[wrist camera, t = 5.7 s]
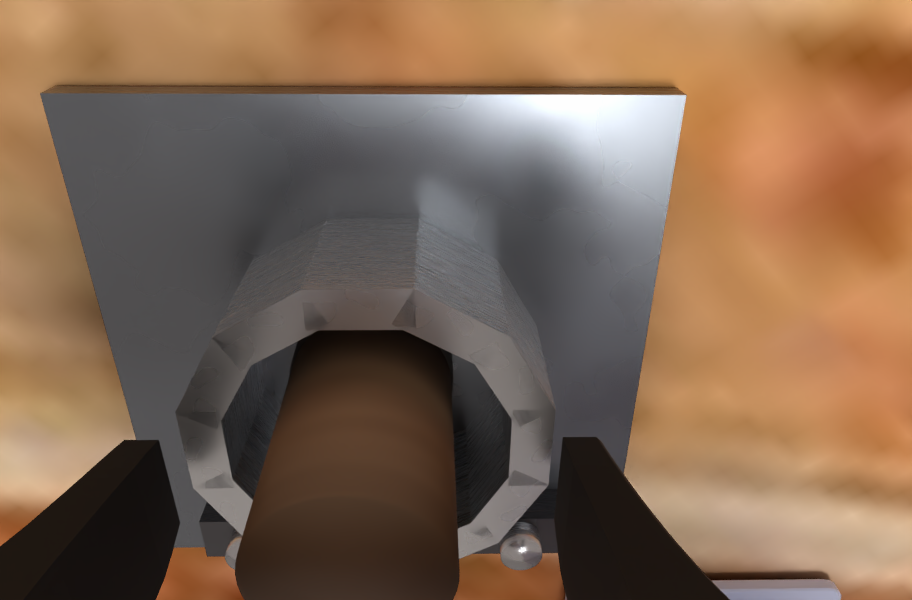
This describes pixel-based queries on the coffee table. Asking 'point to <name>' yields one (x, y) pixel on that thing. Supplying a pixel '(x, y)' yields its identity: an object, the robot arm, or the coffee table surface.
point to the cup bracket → (373, 269)
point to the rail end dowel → (357, 476)
